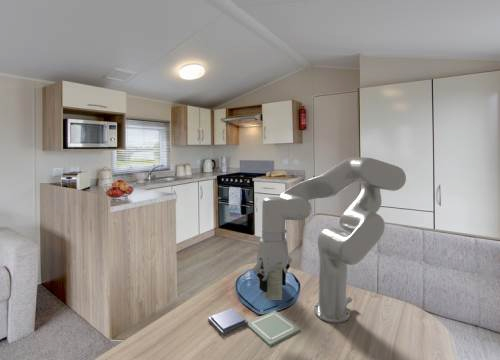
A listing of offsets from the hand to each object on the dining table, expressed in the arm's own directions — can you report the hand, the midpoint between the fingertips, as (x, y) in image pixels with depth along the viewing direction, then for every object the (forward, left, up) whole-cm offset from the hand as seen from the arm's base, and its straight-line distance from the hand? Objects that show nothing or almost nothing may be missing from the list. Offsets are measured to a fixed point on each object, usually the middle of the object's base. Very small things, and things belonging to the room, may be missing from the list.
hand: (272, 286), depth 94 cm
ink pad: (+11, -11, -14) cm, 21 cm away
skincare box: (0, 0, -4) cm, 4 cm away
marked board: (0, 0, -14) cm, 14 cm away
